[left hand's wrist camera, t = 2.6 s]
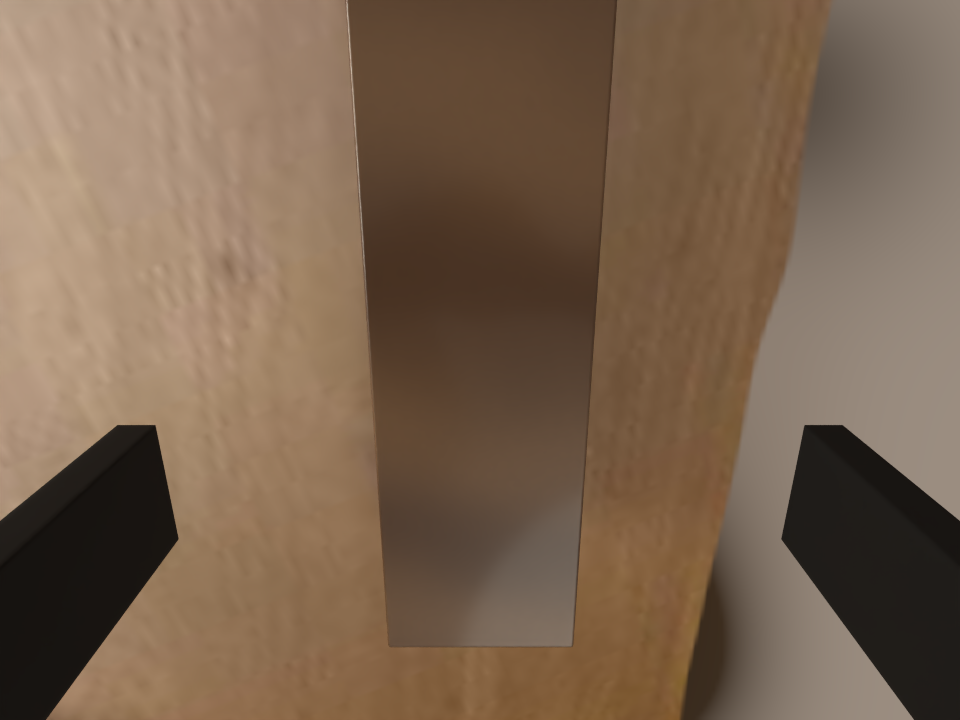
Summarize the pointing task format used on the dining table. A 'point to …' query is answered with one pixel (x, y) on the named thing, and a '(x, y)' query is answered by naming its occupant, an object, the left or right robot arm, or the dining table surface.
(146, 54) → the dining table surface
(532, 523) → the plank
